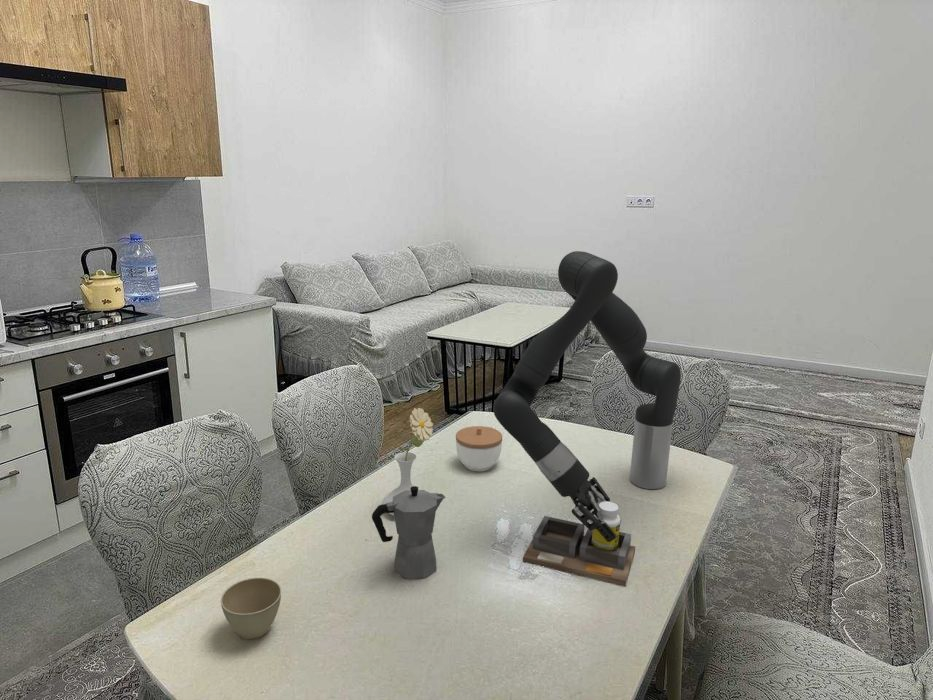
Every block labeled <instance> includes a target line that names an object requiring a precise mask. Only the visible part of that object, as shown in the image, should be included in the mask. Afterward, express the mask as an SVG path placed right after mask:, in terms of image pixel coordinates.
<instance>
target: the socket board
mask: <svg viewBox="0 0 933 700" xmlns="http://www.w3.org/2000/svg"><path fill="white" fill-rule="evenodd" d="M585 527H586V526H585V525H584V524H583V523H582V522H581V523H580V522H575V521H571V520H566V519H561V518H556V517H552V516H548V515H547V516H546V515H544V516H543V518H542V519H541V522H540V523H539V525H538V526H537V528H536V530H535V531H534V534H533V535H532V540H531V542H530V543H529V545H528V546H527V549H526V550H525V552H524V554H523V556H522V562H523V563H526V562H527V564H530V563H531V565H534V564H535V566H539V565H540V566H539V567H543V566H544V568H547V569H551V570H556V571H559V572H560V571H561V572H563V573H568V574H573V575H577V576H580V577H584V578H588V579H589V578H590V579H593V580H596V581H602V582H605V583H610V584H612V585H613V584H614V585H618V586H622V587H627V586H626V585H627V581H628V578H629V574H630V571H631V567H632V563H633V560H634V556H635V553H636V546H634V545H631V542H632V534H631V533H628V532H627V533H626V532H621V531H619V540H618V549H617V551H616V552H615V551H611V550H606V549H602V548H597V547H593V546H592V534H593V530H592V531H590V530H589V529H588V528H586V529H587V530H586V531H585Z"/></svg>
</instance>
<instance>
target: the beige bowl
mask: <svg viewBox="0 0 933 700" xmlns="http://www.w3.org/2000/svg"><path fill="white" fill-rule="evenodd" d="M281 598H282V588H281V586H280V584H279V583H278V582H277V581H275V580H274V579H272V578H266V577H251V578H245V579H243V580H239V581H237V582H235V583H233V584H232V585H229V587H227V588H226V589H225V590H224V591H223V593H222V595H221V597H220V606H221V609H222V613H223V614H224V616H225V619H226V621H227V623H228V624H229V626H230V627H231V628H232V630H233V631H234V632H235V633H236V634H237V635H238V636H240V637H241V638H242V639H246V640H255V639H258V638H261V637H263V636H264V635H265V634H266V633H268V631H269V630H270V628H271V626H272V624H273V623H274V621H275V619H276V617H277V614H278V612H279V607H280V603H281Z"/></svg>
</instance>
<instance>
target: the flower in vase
mask: <svg viewBox="0 0 933 700" xmlns="http://www.w3.org/2000/svg"><path fill="white" fill-rule="evenodd" d="M409 423H410V428H411V433H412V434H411V437H410V441H409V444H408V447H402V446H401V445H400V446H398V450H403V451H404V452H400V453H396V454H395V455H394V460H395V461H396V462H397V463H398V465H399V471H400V484H399V486H397V487H395V488H394V489H393V490H391V491H390V492H389V493H387V495H385V496H384V498H383V500H382V503H381V505H383V504H386V503H388V502H392V501H393V496H395V495H397V494H399V493H402V492H404V491H406V490H411V487H412V486H414V485H413V484H412V481H411V480H412V479H411V471H412V467H413V466H412V465H413V463H414V461H415V460H416V458H417V455H416V454H415V453H413V452H409V451H410V449H411V445H413V446H414V447H416V448H419V447H421V446H422V445H423V444H424V441H430V436H433V432H434V429H433V428H432V427H434V423H433V422H432V419H431V417H430V416H429V413H428V412H425V411H424V409H423V408H422V407H421V408H420V407H418V408H415V407H414V409H413V410H412V411H411V414H410V416H409ZM418 490H420V489H419V488H418ZM387 514H389V515H390V516H393V517H394V513H387Z"/></svg>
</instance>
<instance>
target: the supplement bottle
mask: <svg viewBox="0 0 933 700" xmlns="http://www.w3.org/2000/svg"><path fill="white" fill-rule="evenodd" d="M599 509H600V515H601V516H602V518H603V520H604V522H606V523H607V525H608V526H609V527H610V528H611V529H612V531H613V532H614V533H615V534H616V538H615V539H614V540H612V541H611V542H607V541H606V540H605V538H604V537H603V536H602V535H601V534H600V532H599V531H598V530H597V529H594V530H593V534H592V546H593V547H597V548H602V549H606V550H611V551H615V552H616V551H617V549H618V540H619V532H621V531H620V529H621V528H620V527H621V523H620V520H621V517H620V516H619V506H618V504H617V503H615V502H612V501H609V502H608V501H604V502H601V503H600V504H599ZM594 516H595V517H596V515H594ZM596 518H597V517H596Z"/></svg>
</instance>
